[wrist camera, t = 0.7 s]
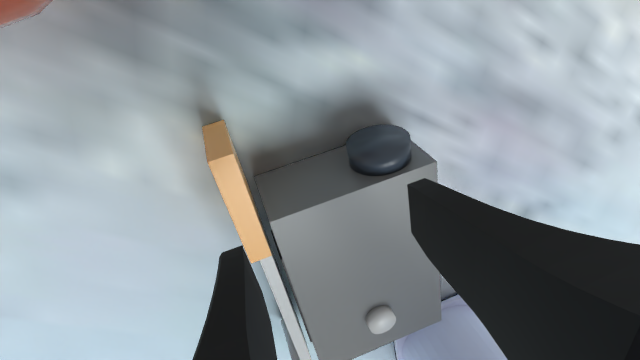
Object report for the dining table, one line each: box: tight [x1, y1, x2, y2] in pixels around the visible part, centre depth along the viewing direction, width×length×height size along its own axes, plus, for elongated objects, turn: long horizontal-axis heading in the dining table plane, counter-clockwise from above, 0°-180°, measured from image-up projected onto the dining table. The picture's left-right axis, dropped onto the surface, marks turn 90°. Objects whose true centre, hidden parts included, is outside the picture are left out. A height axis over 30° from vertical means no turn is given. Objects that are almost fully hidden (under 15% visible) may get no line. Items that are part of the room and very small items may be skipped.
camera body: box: [254, 125, 442, 360], centre depth 21 cm, size 13×8×5 cm, turn 12°
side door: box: [202, 120, 312, 360], centre depth 20 cm, size 15×1×4 cm, turn 12°
